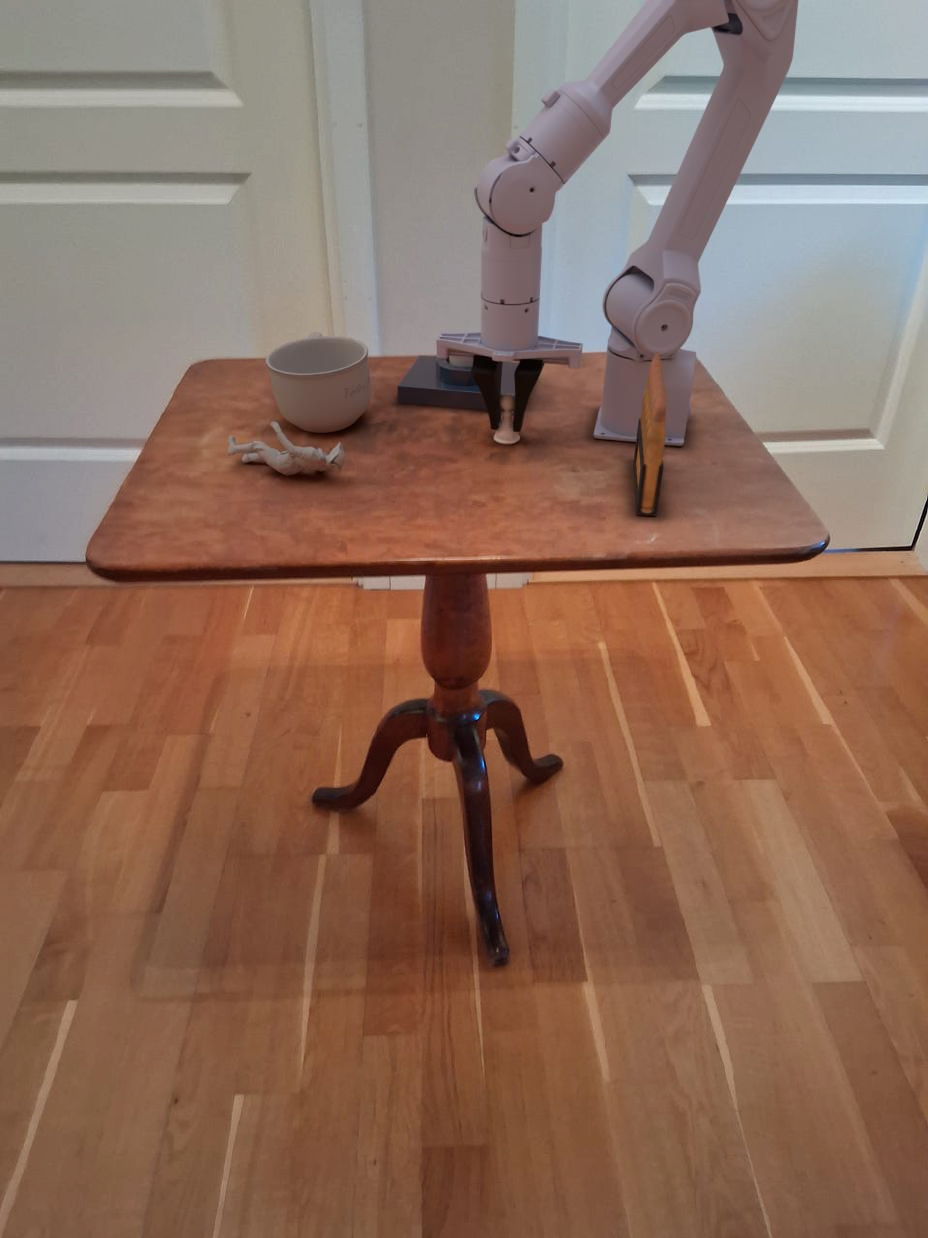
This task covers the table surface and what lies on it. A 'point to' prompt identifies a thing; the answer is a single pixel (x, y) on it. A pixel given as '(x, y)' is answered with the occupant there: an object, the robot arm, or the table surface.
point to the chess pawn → (506, 422)
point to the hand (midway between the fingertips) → (506, 426)
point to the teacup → (320, 381)
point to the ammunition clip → (650, 442)
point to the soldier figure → (288, 455)
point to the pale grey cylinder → (461, 361)
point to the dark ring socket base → (448, 385)
